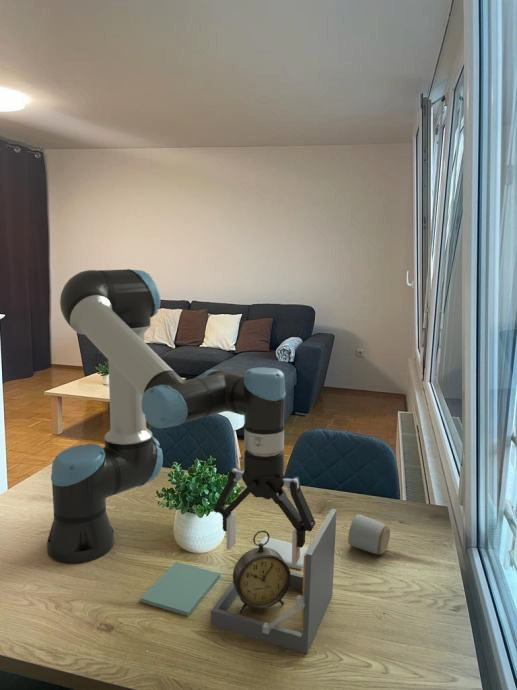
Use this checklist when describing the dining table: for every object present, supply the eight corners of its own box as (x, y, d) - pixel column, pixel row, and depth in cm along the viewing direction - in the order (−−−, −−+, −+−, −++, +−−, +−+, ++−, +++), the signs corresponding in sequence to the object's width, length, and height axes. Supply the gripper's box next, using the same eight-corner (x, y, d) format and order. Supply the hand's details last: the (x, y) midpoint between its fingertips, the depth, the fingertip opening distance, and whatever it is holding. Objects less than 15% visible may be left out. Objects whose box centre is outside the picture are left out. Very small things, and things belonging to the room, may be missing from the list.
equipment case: (207, 628, 101) (208, 535, 98) (247, 573, 119) (249, 492, 116) (305, 658, 94) (309, 558, 91) (332, 595, 112) (336, 509, 109)
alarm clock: (236, 619, 104) (238, 541, 101) (230, 601, 109) (231, 527, 106) (290, 609, 107) (293, 533, 104) (281, 593, 112) (284, 520, 110)
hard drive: (251, 552, 125) (301, 565, 120) (265, 535, 133) (313, 547, 128) (251, 558, 126) (301, 572, 121) (265, 541, 133) (313, 553, 128)
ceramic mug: (379, 561, 124) (382, 530, 123) (346, 551, 129) (348, 520, 127) (394, 542, 133) (396, 513, 132) (362, 532, 138) (364, 504, 136)
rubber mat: (140, 601, 109) (140, 598, 108) (175, 565, 121) (175, 561, 121) (188, 616, 105) (188, 612, 104) (220, 576, 117) (220, 573, 117)
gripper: (196, 447, 104) (197, 549, 107) (322, 466, 95) (319, 578, 98) (213, 435, 111) (214, 532, 114) (333, 452, 101) (329, 557, 105)
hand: (262, 553), depth 106 cm, fingers open, 13 cm apart
